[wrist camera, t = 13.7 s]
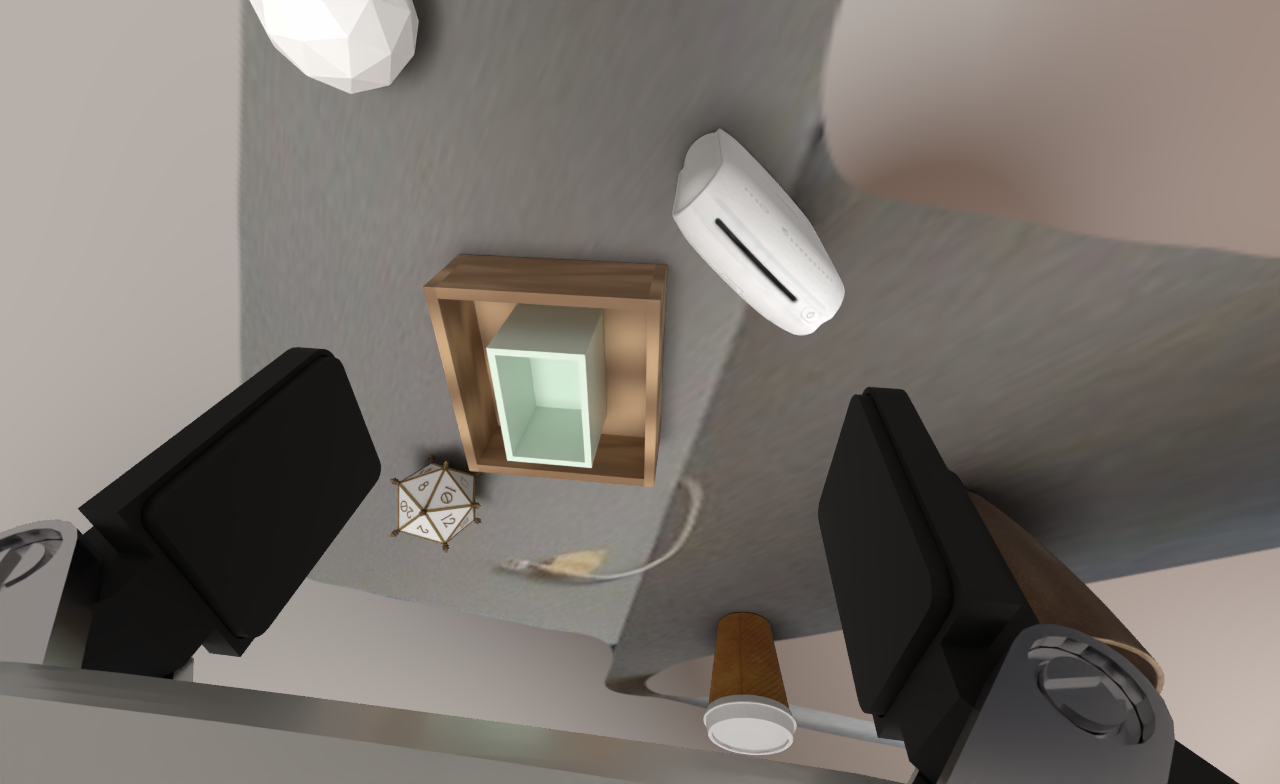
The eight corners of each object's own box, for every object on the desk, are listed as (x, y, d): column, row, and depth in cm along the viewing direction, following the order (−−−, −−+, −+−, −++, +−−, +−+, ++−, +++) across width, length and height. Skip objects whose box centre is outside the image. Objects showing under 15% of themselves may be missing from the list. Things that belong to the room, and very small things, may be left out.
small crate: (518, 302, 39) (485, 347, 34) (603, 307, 39) (585, 354, 33) (532, 406, 45) (507, 460, 39) (606, 412, 44) (591, 467, 39)
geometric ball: (388, 44, 33) (273, 92, 30) (325, -127, 27) (169, -91, 23) (465, 80, 31) (349, 137, 27) (417, -100, 24) (256, -54, 21)
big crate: (459, 254, 38) (423, 286, 34) (667, 264, 37) (660, 300, 32) (493, 426, 48) (469, 470, 43) (659, 439, 47) (653, 487, 42)
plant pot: (1075, 506, 46) (1220, 694, 33) (939, 584, 54) (1012, 760, 41) (952, 431, 43) (1058, 607, 30) (828, 526, 51) (868, 697, 38)
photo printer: (823, 231, 35) (870, 313, 24) (773, 274, 37) (796, 366, 27) (718, 113, 31) (722, 153, 21) (670, 168, 33) (652, 227, 23)
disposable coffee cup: (769, 653, 65) (779, 763, 55) (696, 638, 65) (693, 745, 55) (796, 613, 60) (812, 727, 50) (716, 596, 59) (717, 707, 50)
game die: (456, 455, 56) (370, 515, 51) (451, 420, 49) (350, 484, 44) (509, 515, 54) (424, 583, 49) (511, 487, 47) (413, 563, 42)
